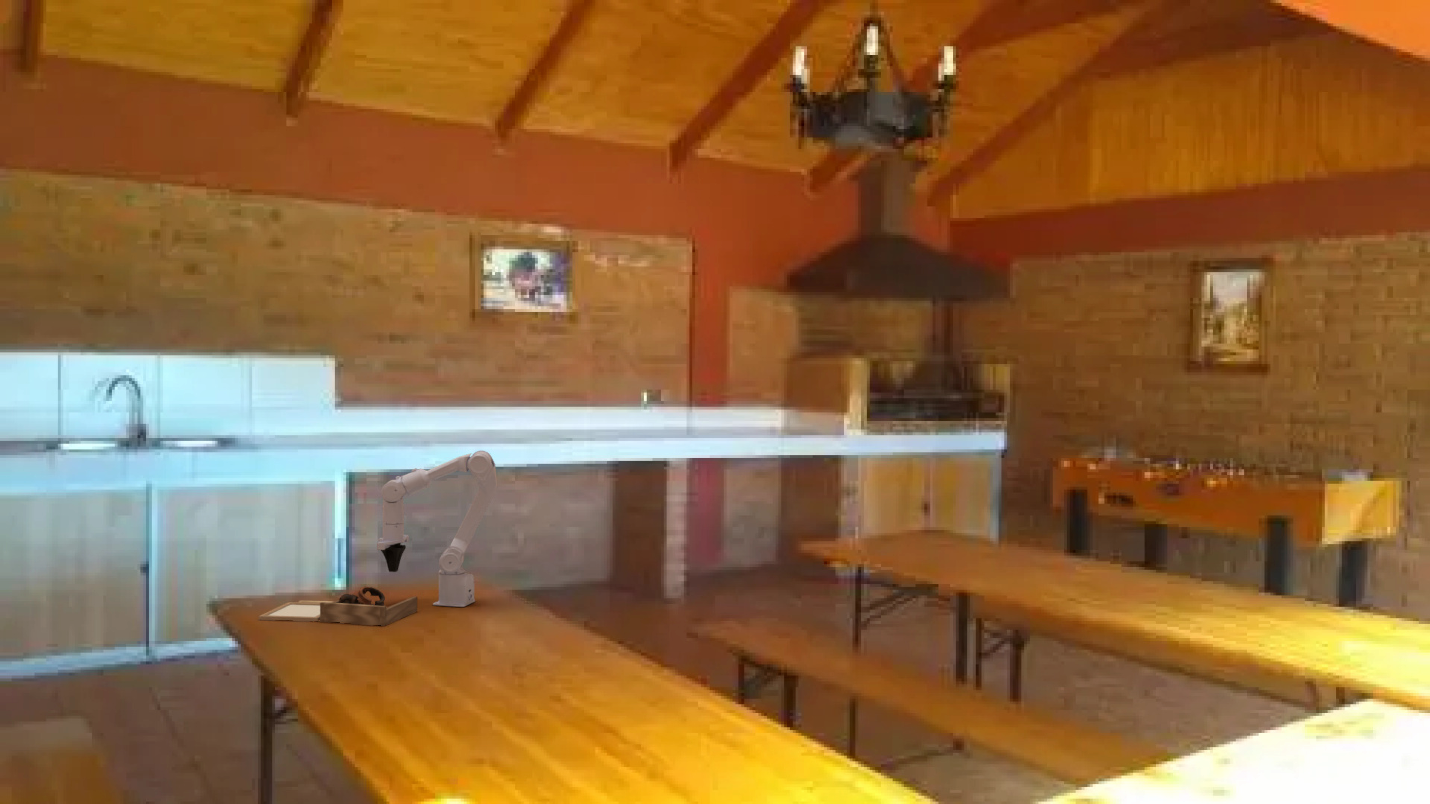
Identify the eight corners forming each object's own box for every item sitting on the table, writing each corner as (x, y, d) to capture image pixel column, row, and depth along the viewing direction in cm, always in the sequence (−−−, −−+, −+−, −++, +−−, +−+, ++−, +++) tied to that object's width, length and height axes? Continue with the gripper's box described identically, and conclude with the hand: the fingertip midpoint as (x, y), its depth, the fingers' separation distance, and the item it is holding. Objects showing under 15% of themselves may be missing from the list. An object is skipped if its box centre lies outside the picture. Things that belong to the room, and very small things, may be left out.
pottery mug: (369, 609, 311) (382, 585, 309) (379, 631, 304) (392, 606, 302) (328, 604, 303) (341, 579, 301) (338, 626, 296) (352, 601, 294)
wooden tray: (417, 611, 307) (417, 593, 307) (384, 626, 290) (384, 607, 290) (356, 607, 311) (356, 589, 311) (320, 621, 294) (320, 602, 294)
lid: (348, 605, 314) (348, 601, 314) (317, 621, 294) (317, 618, 294) (293, 603, 315) (293, 600, 315) (258, 620, 295) (258, 616, 295)
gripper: (392, 519, 322) (392, 566, 323) (366, 526, 308) (366, 575, 308) (415, 520, 321) (415, 567, 321) (390, 527, 306) (390, 576, 307)
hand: (393, 571), depth 315 cm, fingers closed
